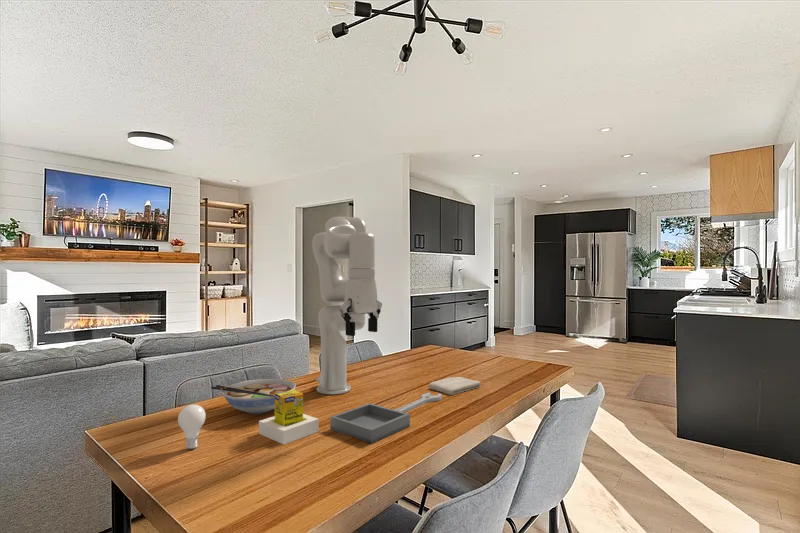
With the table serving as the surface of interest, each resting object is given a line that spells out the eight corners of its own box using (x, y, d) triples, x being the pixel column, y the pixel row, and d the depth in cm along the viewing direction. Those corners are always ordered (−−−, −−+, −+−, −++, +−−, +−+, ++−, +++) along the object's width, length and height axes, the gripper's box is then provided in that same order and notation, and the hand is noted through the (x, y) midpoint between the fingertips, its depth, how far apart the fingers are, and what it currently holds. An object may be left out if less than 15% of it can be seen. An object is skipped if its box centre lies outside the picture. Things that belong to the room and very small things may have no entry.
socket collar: (258, 433, 117) (258, 420, 117) (293, 422, 126) (293, 410, 126) (283, 444, 110) (283, 430, 110) (318, 431, 119) (318, 418, 119)
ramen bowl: (313, 405, 142) (313, 380, 142) (264, 428, 121) (264, 399, 121) (255, 396, 152) (256, 373, 152) (202, 416, 132) (202, 389, 132)
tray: (330, 429, 120) (330, 416, 120) (369, 414, 133) (369, 403, 133) (371, 443, 110) (371, 430, 110) (409, 426, 123) (409, 414, 123)
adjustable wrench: (396, 418, 131) (396, 412, 131) (381, 414, 135) (381, 408, 135) (444, 399, 149) (444, 394, 149) (430, 395, 154) (430, 391, 154)
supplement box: (283, 438, 114) (283, 397, 114) (274, 432, 118) (274, 392, 118) (303, 433, 118) (303, 393, 118) (293, 427, 122) (293, 388, 122)
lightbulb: (184, 444, 110) (184, 401, 110) (209, 443, 111) (209, 400, 111) (173, 454, 104) (173, 409, 104) (200, 453, 104) (200, 408, 105)
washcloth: (482, 388, 164) (482, 380, 164) (451, 397, 152) (451, 388, 152) (459, 381, 173) (459, 374, 173) (428, 390, 161) (428, 382, 161)
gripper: (371, 274, 134) (371, 329, 133) (331, 275, 120) (331, 336, 120) (390, 274, 129) (390, 331, 129) (350, 275, 115) (350, 338, 115)
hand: (361, 333), depth 124 cm, fingers open, 9 cm apart
